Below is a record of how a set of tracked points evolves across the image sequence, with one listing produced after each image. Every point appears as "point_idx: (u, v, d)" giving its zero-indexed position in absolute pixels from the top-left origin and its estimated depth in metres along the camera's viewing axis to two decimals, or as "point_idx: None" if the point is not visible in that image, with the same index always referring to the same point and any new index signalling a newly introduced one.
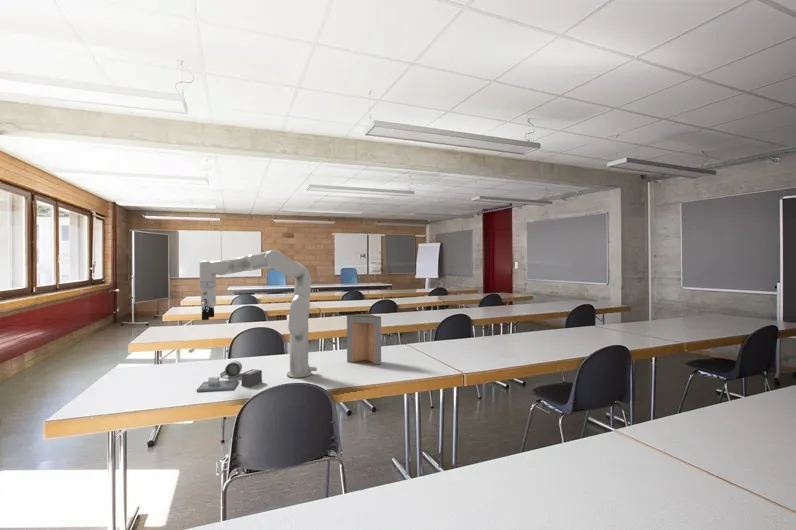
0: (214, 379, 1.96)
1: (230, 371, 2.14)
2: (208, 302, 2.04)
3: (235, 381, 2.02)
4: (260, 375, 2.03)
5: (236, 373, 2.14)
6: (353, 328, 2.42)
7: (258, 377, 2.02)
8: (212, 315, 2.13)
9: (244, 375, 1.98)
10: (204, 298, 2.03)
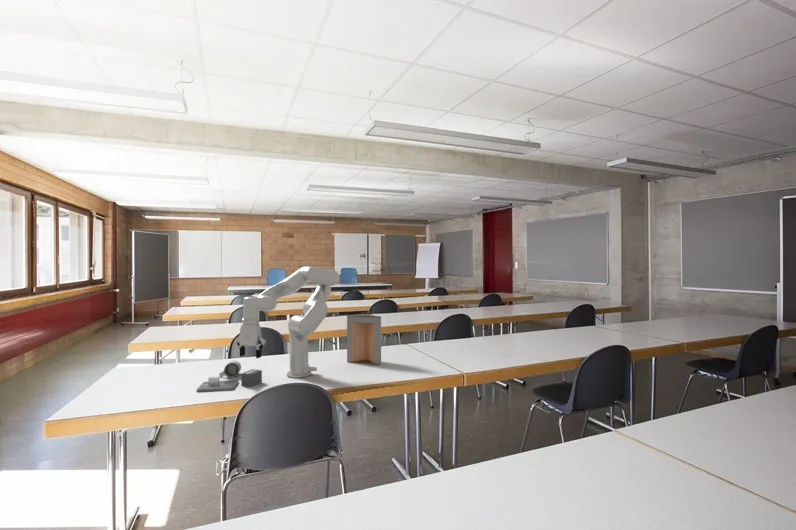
0: (214, 379, 1.96)
1: (229, 371, 2.14)
2: None
3: (235, 381, 2.02)
4: (260, 375, 2.03)
5: (235, 373, 2.14)
6: (353, 328, 2.42)
7: (258, 377, 2.02)
8: None
9: (244, 375, 1.98)
10: None
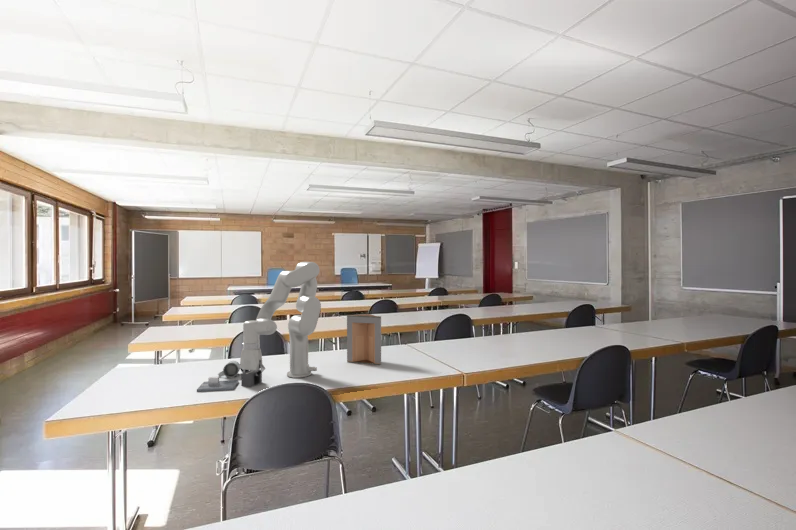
0: (214, 379, 1.96)
1: (228, 371, 2.14)
2: None
3: (235, 381, 2.02)
4: (260, 375, 2.03)
5: (234, 373, 2.14)
6: (353, 328, 2.42)
7: None
8: None
9: (244, 375, 1.98)
10: None
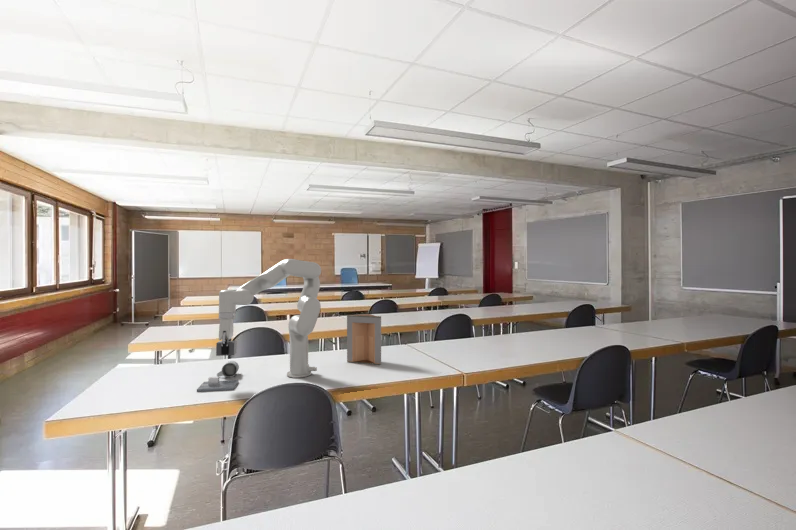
0: (214, 379, 1.96)
1: (227, 371, 2.14)
2: None
3: (235, 381, 2.02)
4: (232, 347, 1.95)
5: (233, 373, 2.14)
6: (353, 328, 2.42)
7: None
8: None
9: None
10: None
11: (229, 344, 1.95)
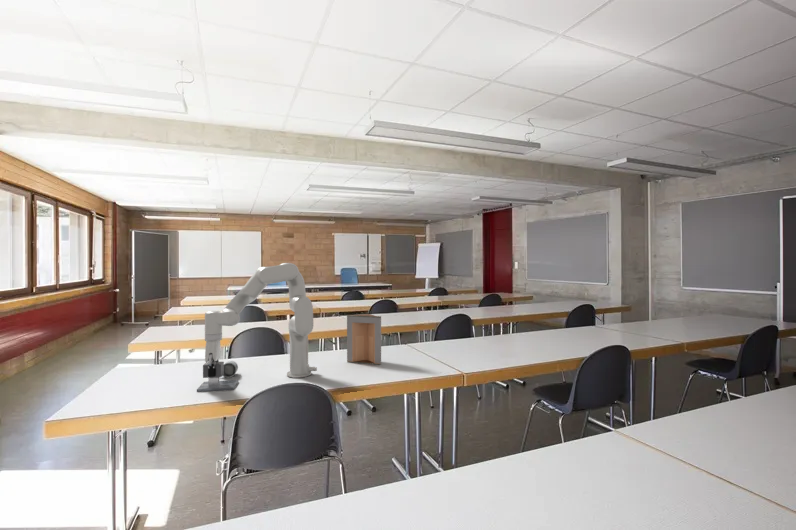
0: (214, 379, 1.96)
1: (226, 371, 2.13)
2: None
3: (235, 381, 2.02)
4: (218, 369, 1.94)
5: (232, 373, 2.14)
6: (353, 328, 2.42)
7: None
8: None
9: None
10: None
11: (216, 366, 1.94)
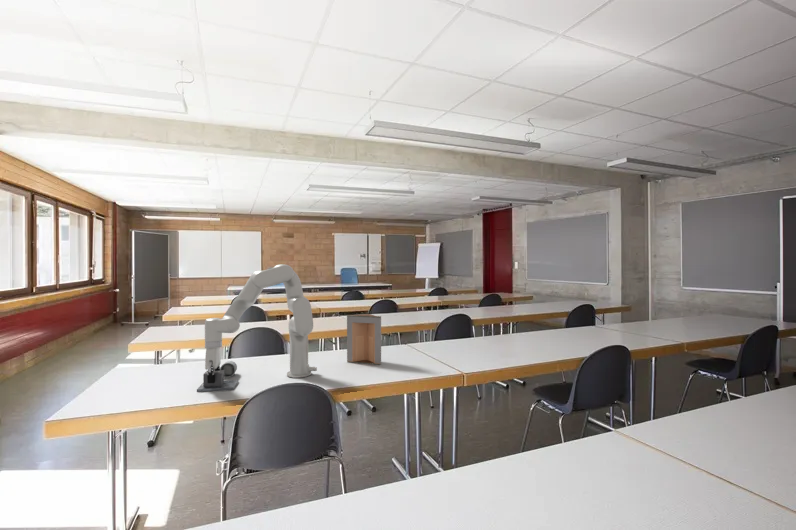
0: None
1: (225, 371, 2.13)
2: None
3: (235, 381, 2.02)
4: (219, 378, 1.94)
5: (231, 373, 2.14)
6: (353, 328, 2.42)
7: (215, 379, 1.94)
8: None
9: None
10: None
11: (216, 375, 1.94)
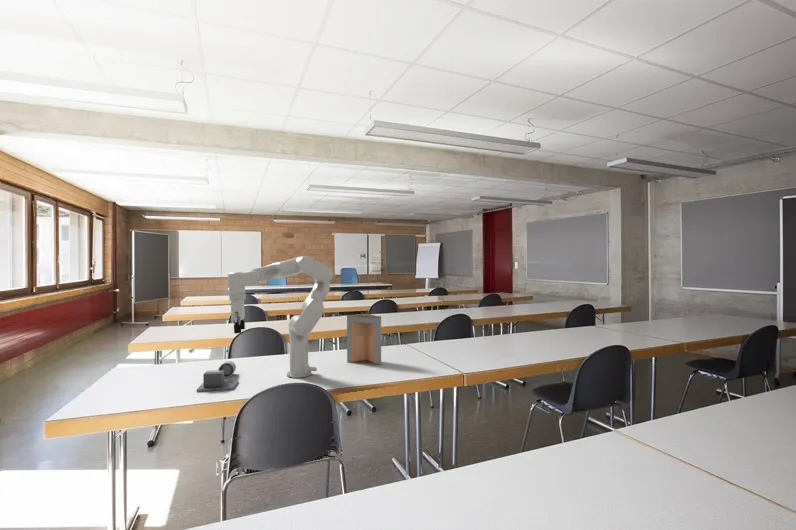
0: None
1: (224, 371, 2.13)
2: None
3: (235, 381, 2.02)
4: (219, 378, 1.94)
5: (230, 373, 2.14)
6: (353, 328, 2.42)
7: (215, 379, 1.94)
8: None
9: None
10: None
11: (216, 375, 1.94)
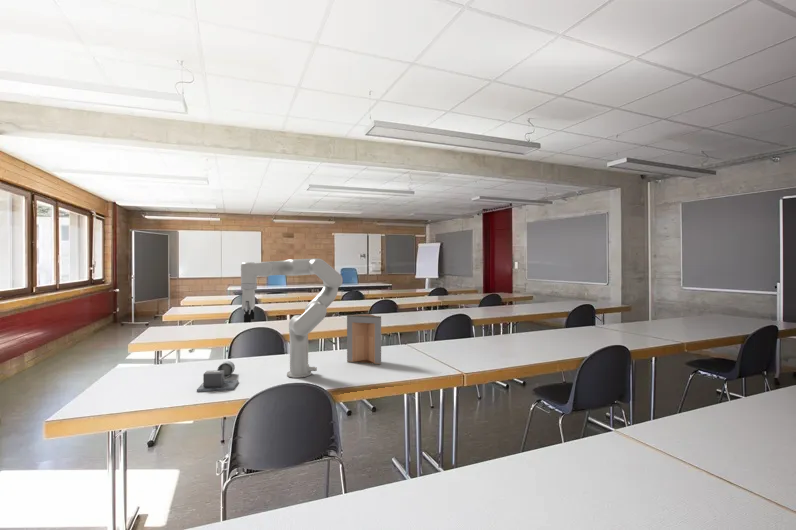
0: None
1: None
2: None
3: (235, 381, 2.02)
4: (219, 378, 1.94)
5: (229, 373, 2.14)
6: (353, 328, 2.42)
7: (215, 379, 1.94)
8: None
9: None
10: None
11: (216, 375, 1.94)
